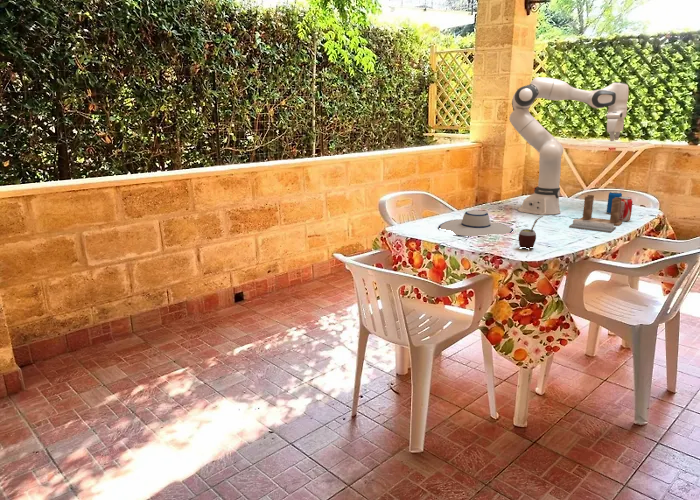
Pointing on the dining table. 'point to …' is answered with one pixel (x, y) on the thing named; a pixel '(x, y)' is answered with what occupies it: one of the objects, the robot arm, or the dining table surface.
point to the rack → (588, 216)
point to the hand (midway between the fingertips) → (614, 140)
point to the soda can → (625, 209)
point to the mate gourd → (527, 237)
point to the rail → (593, 224)
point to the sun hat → (475, 225)
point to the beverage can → (611, 197)
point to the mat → (592, 228)
